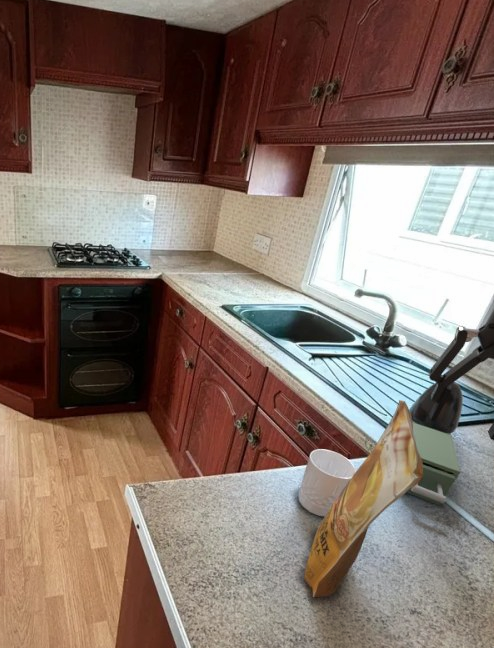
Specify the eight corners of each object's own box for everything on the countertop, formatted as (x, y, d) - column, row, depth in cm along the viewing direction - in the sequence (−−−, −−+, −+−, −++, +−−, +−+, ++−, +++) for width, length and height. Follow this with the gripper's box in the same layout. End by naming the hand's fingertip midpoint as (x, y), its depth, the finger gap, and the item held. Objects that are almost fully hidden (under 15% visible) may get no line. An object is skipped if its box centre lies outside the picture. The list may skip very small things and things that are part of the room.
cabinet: (440, 505, 81) (460, 472, 77) (391, 485, 85) (408, 453, 81) (434, 465, 92) (452, 435, 88) (391, 450, 96) (406, 420, 92)
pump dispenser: (393, 425, 106) (417, 375, 99) (415, 417, 110) (440, 369, 104) (434, 449, 98) (464, 396, 91) (456, 439, 102) (486, 388, 96)
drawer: (442, 521, 75) (458, 494, 72) (396, 503, 79) (411, 476, 76) (434, 468, 90) (448, 443, 87) (396, 454, 93) (408, 430, 90)
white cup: (339, 499, 79) (357, 460, 75) (336, 526, 73) (355, 485, 69) (298, 482, 83) (312, 443, 78) (291, 506, 77) (307, 466, 72)
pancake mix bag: (359, 536, 72) (427, 404, 59) (343, 624, 57) (428, 473, 45) (320, 517, 75) (376, 387, 63) (294, 595, 60) (361, 447, 48)
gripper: (451, 293, 63) (394, 414, 73) (638, 330, 54) (544, 462, 64) (446, 284, 69) (394, 397, 79) (614, 316, 60) (531, 439, 70)
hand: (461, 426), depth 71 cm, fingers open, 8 cm apart
